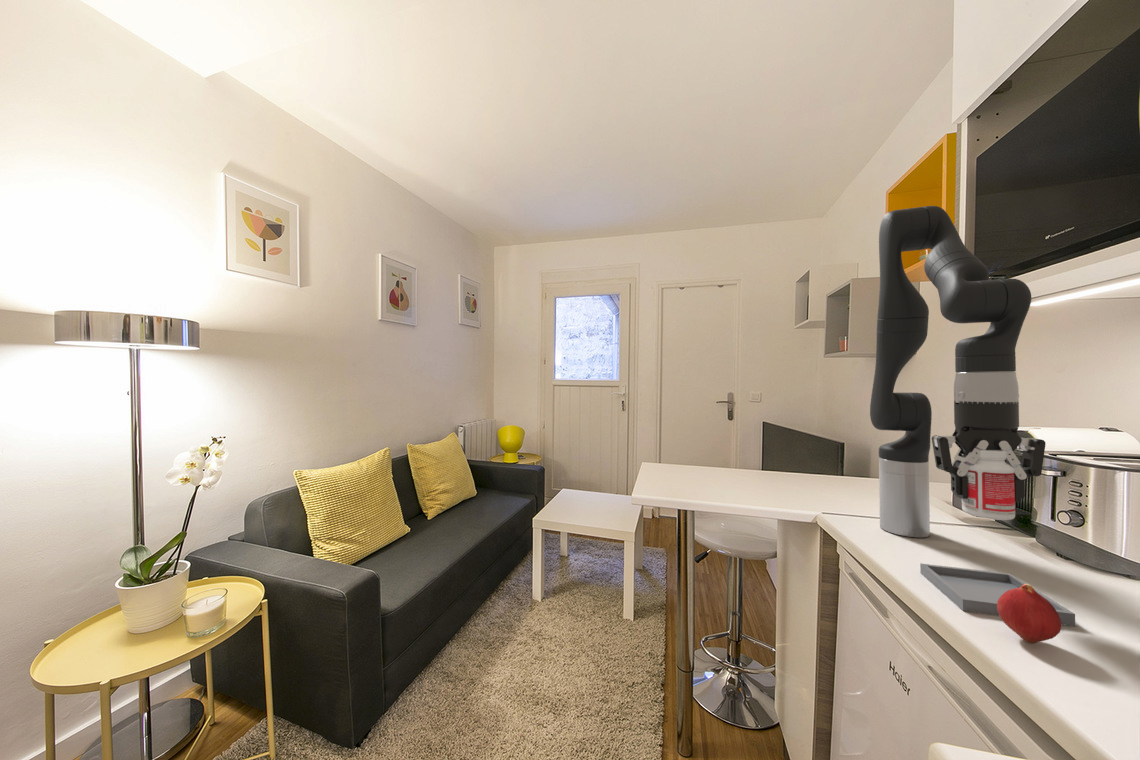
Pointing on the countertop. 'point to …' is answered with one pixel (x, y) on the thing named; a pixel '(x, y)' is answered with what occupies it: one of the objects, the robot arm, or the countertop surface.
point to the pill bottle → (991, 487)
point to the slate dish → (980, 589)
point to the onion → (1029, 614)
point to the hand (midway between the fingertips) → (986, 498)
